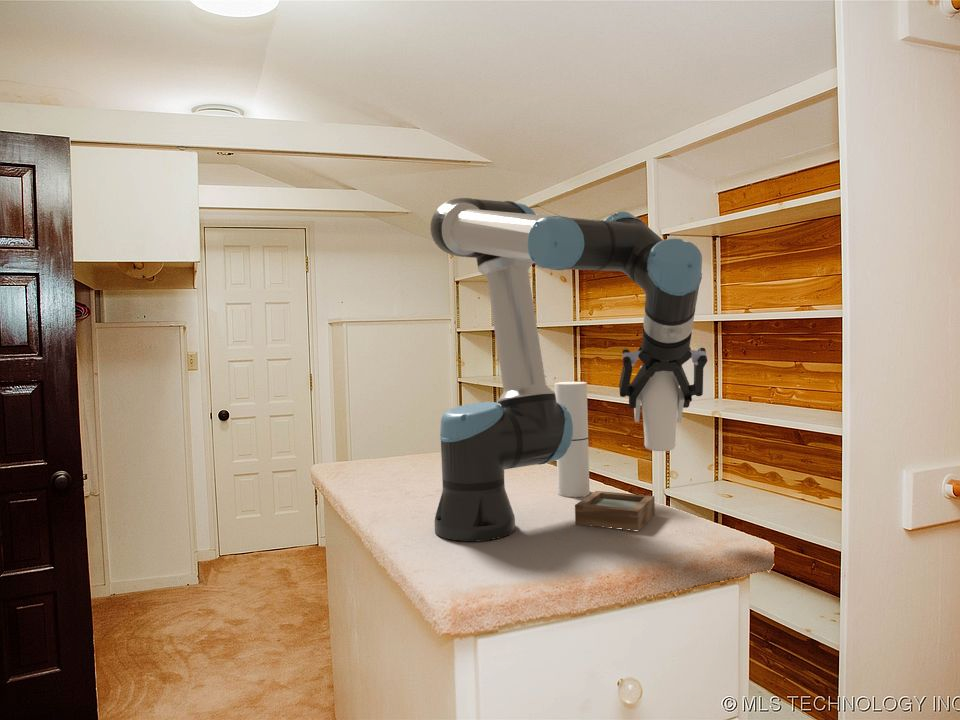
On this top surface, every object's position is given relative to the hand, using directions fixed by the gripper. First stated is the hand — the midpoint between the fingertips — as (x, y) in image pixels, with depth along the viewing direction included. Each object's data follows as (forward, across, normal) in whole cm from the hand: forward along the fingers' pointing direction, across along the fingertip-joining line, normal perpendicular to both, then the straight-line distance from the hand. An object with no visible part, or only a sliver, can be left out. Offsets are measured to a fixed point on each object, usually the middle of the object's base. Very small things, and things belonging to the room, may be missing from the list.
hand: (657, 415), depth 122 cm
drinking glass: (+1, 0, -6) cm, 7 cm away
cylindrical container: (+32, -16, +2) cm, 36 cm away
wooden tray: (+17, -8, -12) cm, 22 cm away
